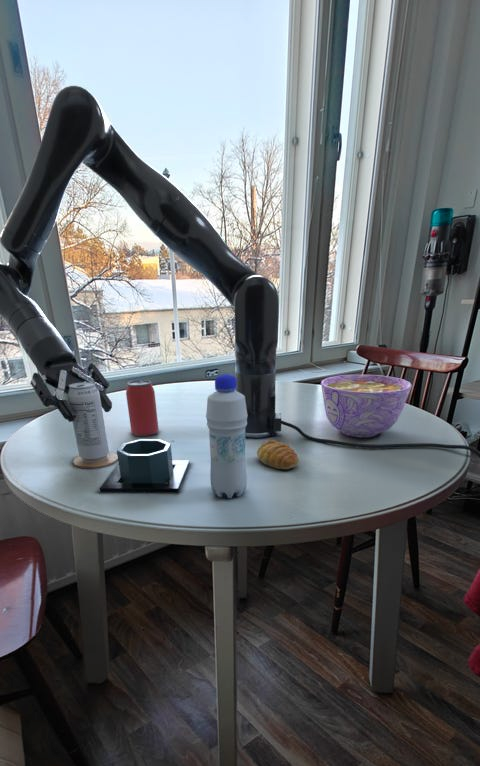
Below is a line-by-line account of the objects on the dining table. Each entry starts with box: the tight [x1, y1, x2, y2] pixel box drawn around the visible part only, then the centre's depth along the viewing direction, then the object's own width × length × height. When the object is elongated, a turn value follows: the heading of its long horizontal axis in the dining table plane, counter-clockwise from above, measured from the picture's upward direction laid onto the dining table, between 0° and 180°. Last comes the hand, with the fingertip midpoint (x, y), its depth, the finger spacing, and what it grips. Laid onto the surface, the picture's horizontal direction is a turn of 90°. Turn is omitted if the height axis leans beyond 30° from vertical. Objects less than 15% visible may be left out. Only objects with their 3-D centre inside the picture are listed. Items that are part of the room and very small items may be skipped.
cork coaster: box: [73, 451, 118, 469], centre depth 95 cm, size 9×9×1 cm
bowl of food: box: [320, 374, 413, 438], centre depth 106 cm, size 20×20×12 cm
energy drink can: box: [66, 381, 110, 463], centre depth 92 cm, size 6×6×15 cm
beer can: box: [125, 379, 160, 437], centre depth 109 cm, size 7×7×12 cm
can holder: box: [99, 438, 190, 494], centre depth 85 cm, size 14×14×6 cm
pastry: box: [256, 439, 300, 470], centre depth 91 cm, size 9×7×4 cm
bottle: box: [205, 373, 248, 499], centre depth 75 cm, size 7×7×20 cm
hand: (91, 414), depth 90 cm, fingers open, 8 cm apart
